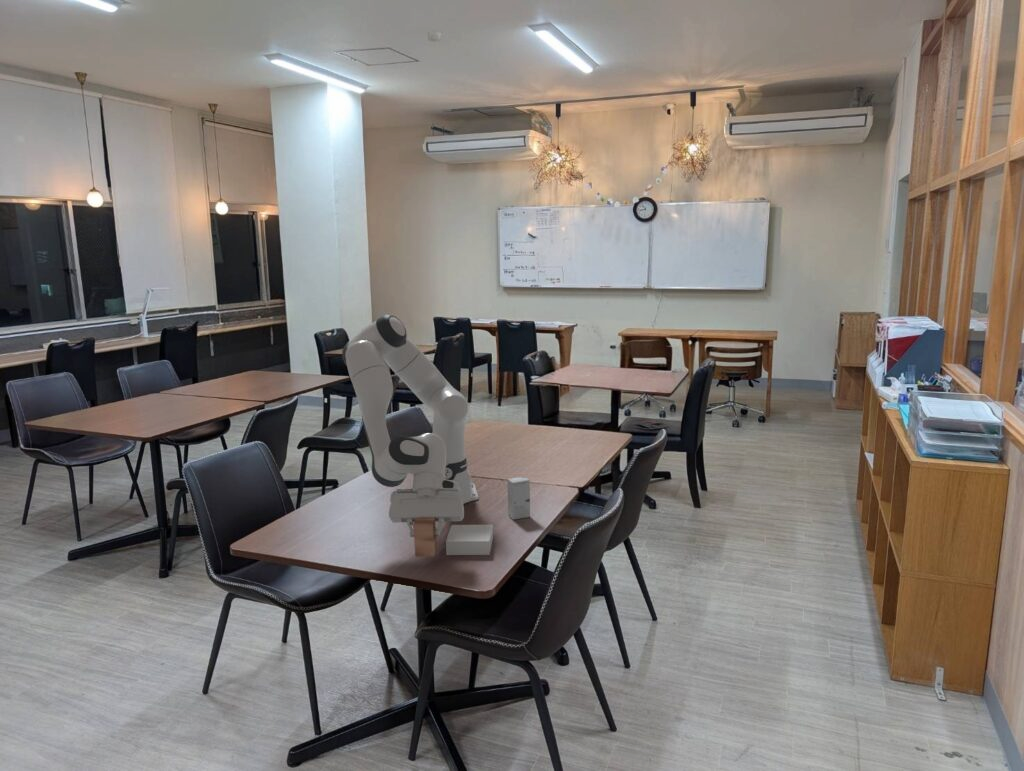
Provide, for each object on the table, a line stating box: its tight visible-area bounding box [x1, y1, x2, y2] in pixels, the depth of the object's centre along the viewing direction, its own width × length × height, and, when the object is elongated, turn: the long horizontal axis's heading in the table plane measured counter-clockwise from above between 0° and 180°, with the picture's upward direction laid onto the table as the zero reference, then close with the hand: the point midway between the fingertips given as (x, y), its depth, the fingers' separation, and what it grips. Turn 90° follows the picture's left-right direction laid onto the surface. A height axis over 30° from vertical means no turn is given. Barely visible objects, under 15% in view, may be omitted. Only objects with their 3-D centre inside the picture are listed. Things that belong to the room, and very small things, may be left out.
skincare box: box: [506, 476, 531, 520], centre depth 219 cm, size 6×4×12 cm
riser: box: [445, 524, 494, 556], centre depth 198 cm, size 12×12×4 cm
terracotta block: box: [412, 518, 438, 558], centre depth 185 cm, size 5×5×9 cm
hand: (424, 536), depth 185 cm, fingers closed on terracotta block, 5 cm apart
